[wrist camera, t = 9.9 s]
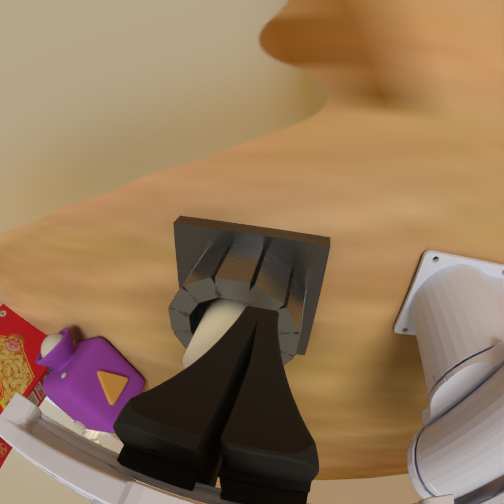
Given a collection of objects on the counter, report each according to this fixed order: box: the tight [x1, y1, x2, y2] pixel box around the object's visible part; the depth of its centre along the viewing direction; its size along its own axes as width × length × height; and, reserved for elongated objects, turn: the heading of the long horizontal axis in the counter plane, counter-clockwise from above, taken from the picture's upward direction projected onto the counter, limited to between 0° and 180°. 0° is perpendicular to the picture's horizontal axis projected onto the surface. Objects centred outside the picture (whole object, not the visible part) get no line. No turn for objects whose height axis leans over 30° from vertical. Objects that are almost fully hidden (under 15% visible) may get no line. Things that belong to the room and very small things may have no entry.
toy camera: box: [36, 328, 145, 433], centre depth 32 cm, size 11×14×10 cm
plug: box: [182, 297, 250, 369], centre depth 20 cm, size 4×4×6 cm
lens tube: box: [169, 216, 330, 365], centre depth 23 cm, size 11×11×5 cm
